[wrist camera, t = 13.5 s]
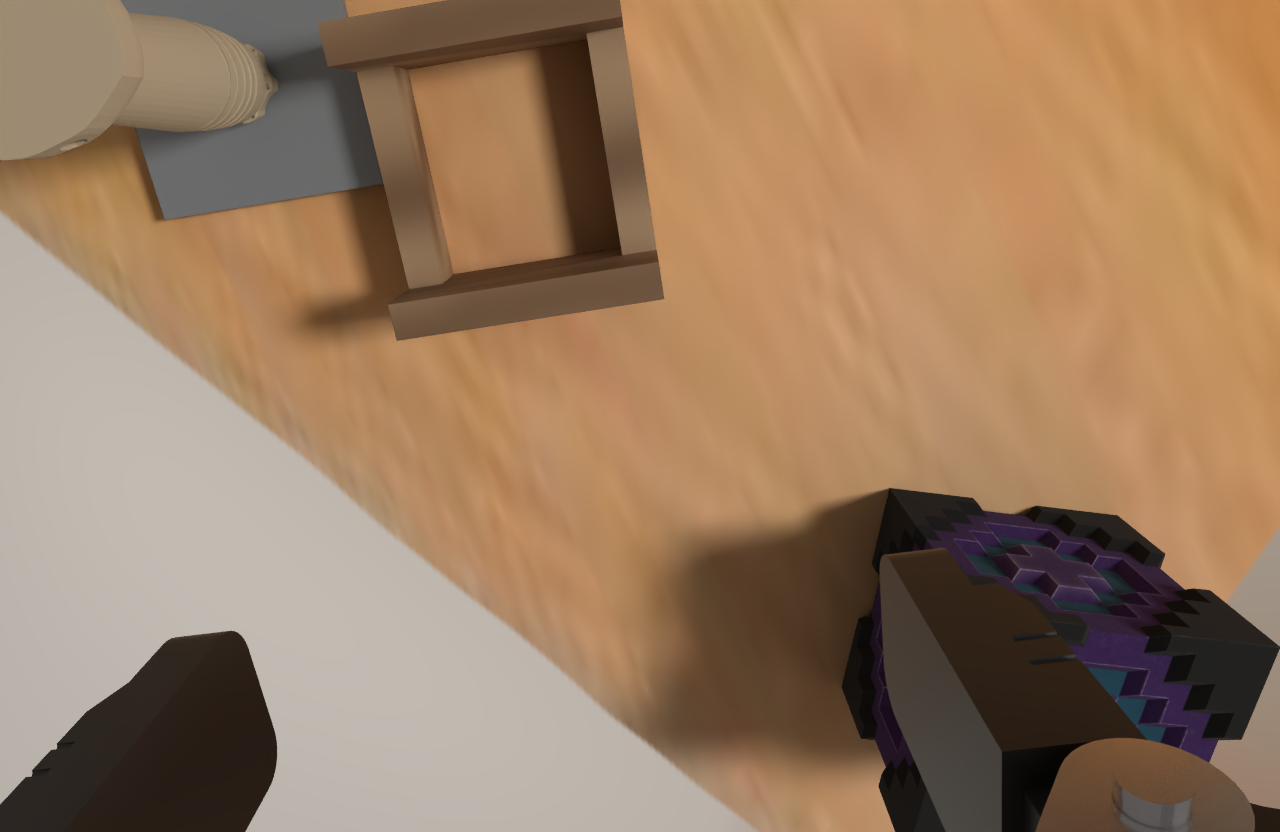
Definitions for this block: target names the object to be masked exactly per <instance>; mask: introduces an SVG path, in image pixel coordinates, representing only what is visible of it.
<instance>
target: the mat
mask: <svg viewBox="0 0 1280 832" xmlns="http://www.w3.org/2000/svg"><path fill="white" fill-rule="evenodd" d="M120 1H121V2H122V4H123V5H124V7H125V8H126V10H127V11H128V13H137V14H147V15H157V16H167V17H174V18H178V19H183V20H187V21H191V22H195V23H199V24H202V25H205V26H208V27H211V28H213V29H216V30H219V31H221V32H223V33H225V34H227V35H229V36H231V37H233V38H235V39H236V40H238V41H239V42H241V43H242V44H249V45H252V46H254V47H255V48H257V49H258V50H259V51H260V52H262V53H263V54H264V56H265V64H266V66H267V68H268V70H269V72H270V73H271V75H272V76H273V77H274V78H276V79H277V81H278V91H277V92H275V93H274V94H273V95H272V96H271V97H270V99H269V100H268V102H267V104H266V107H265V115H264V116H263V117H262V118H260V119H258V120H257V121H254V122H251V123H246V124H243V123H240V124H237V125H234V126H231V127H227V128H221V129H215V130H209V131H194V132H173V131H164V130H155V129H145V128H136V127H135V129H136V132H137V135H138V138H139V141H140V145H141V148H142V151H143V154H144V157H145V160H146V163H147V166H148V169H149V172H150V175H151V179H152V182H153V185H154V188H155V191H156V194H157V197H158V200H159V203H160V206H161V209H162V213H163V216H164V219H165V220H167V219H173V218H179V217H185V216H192V215H198V214H204V213H210V212H216V211H222V210H228V209H234V208H240V207H246V206H252V205H259V204H265V203H271V202H277V201H283V200H289V199H295V198H301V197H307V196H313V195H319V194H326V193H332V192H338V191H344V190H350V189H356V188H362V187H368V186H374V185H380V184H383V180H382V176H381V171H380V167H379V163H378V159H377V155H376V151H375V147H374V143H373V138H372V134H371V130H370V126H369V122H368V118H367V114H366V109H365V105H364V101H363V97H362V93H361V89H360V85H359V81H358V76H357V72H353V71H348V70H343V69H337V68H332V67H328V65H327V61H326V57H325V53H324V49H323V45H322V41H321V37H320V33H319V29H318V25H317V23H319V22H325V21H331V20H337V19H342V18H348V15H347V11H346V6H345V2H344V0H120Z"/></svg>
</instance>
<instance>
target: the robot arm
mask: <svg viewBox="0 0 1280 832" xmlns="http://www.w3.org/2000/svg"><path fill="white" fill-rule="evenodd" d="M880 593H881V614H882V635H883V656H884V670H885V678H886V684H887V689H888V694H889V698H890V702H891V706H892V709H893V712H894V715H895V717H896V720H897V722H898V725H899V727H900V729H901V731H902V734H903V736H904V738H905V740H906V743H907V745H908V747H909V750H910V752H911V754H912V756H913V759H914V761H915V763H916V765H917V768H918V770H919V772H920V775H921V777H922V779H923V781H924V784H925V786H926V788H927V790H928V793H929V795H930V797H931V800H932V802H933V804H934V806H935V809H936V811H937V813H938V815H939V818H940V820H941V822H942V825H943V827H944V829H945V831H946V832H1280V809H1275V808H1268V807H1263V806H1259V805H1255V804H1252V803H1249V801H1248V799H1247V798H1246V796H1245V794H1244V793H1243V792H1242V790H1241V789H1240V788H1239V787H1238V786H1237V785H1236V783H1235V782H1234V781H1232V780H1231V779H1230V778H1229V777H1228V776H1227V775H1226V774H1224V773H1223V772H1222V771H1220V770H1219V769H1217V768H1216V767H1215V766H1213V765H1212V764H1210V763H1208V762H1207V761H1205V760H1203V759H1201V758H1199V757H1197V756H1196V755H1193V754H1191V753H1189V752H1186V751H1184V750H1182V749H1179V748H1176V747H1173V746H1170V745H1167V744H1163V743H1158V742H1154V741H1150V740H1147V739H1146V738H1145V737H1144V735H1143V734H1142V733H1141V732H1140V731H1139V729H1138V728H1137V727H1136V726H1135V725H1134V723H1133V722H1132V721H1131V720H1130V719H1129V717H1128V716H1127V715H1126V714H1125V713H1124V711H1123V710H1122V709H1121V708H1120V707H1119V705H1118V704H1117V703H1116V702H1115V701H1114V699H1113V698H1112V697H1111V696H1110V695H1109V693H1108V692H1107V691H1106V690H1105V689H1104V687H1103V686H1102V685H1101V684H1100V683H1099V681H1098V680H1097V679H1096V678H1095V677H1094V675H1093V674H1092V673H1091V672H1090V671H1089V669H1088V668H1087V667H1086V666H1085V665H1084V663H1083V662H1082V661H1081V660H1077V659H1076V654H1075V652H1074V651H1073V650H1072V649H1071V648H1070V646H1069V645H1068V644H1067V643H1066V642H1065V640H1064V639H1063V638H1062V637H1061V636H1060V637H1058V636H1057V631H1056V630H1055V628H1054V627H1053V626H1052V625H1051V624H1050V622H1049V621H1048V620H1047V619H1046V618H1045V616H1044V615H1043V614H1042V613H1041V612H1040V610H1039V609H1038V608H1037V607H1036V606H1035V604H1033V603H1032V602H1030V601H1028V600H1026V599H1025V598H1023V597H1021V596H1019V595H1018V594H1016V593H1014V592H1012V591H1010V590H1009V589H1007V588H1005V587H1003V586H1002V585H1000V584H998V583H993V584H984V585H976V586H974V585H973V584H972V583H971V581H970V580H969V579H968V577H967V576H966V575H965V573H964V572H963V571H962V569H961V568H960V566H959V565H958V564H957V562H956V561H955V560H954V558H953V557H952V556H951V554H950V553H949V552H948V551H947V550H946V549H945V548H937V549H929V550H921V551H912V552H904V553H895V554H887V555H883V556H882V557H881V561H880ZM276 761H277V741H276V736H275V731H274V728H273V725H272V721H271V718H270V715H269V712H268V709H267V706H266V702H265V699H264V696H263V693H262V690H261V687H260V683H259V680H258V677H257V674H256V671H255V668H254V665H253V662H252V658H251V655H250V652H249V649H248V647H247V644H246V642H245V640H244V639H243V637H242V636H241V635H240V634H239V633H237V632H235V631H226V632H218V633H209V634H201V635H192V636H184V637H175V638H171V639H170V640H168V641H166V643H164V644H163V645H162V646H161V648H160V649H159V650H158V651H157V652H156V653H155V654H154V655H153V656H152V657H151V659H150V660H149V661H148V662H147V663H146V664H145V665H144V666H143V667H142V668H141V670H140V671H139V672H138V673H137V674H136V675H135V676H134V678H133V679H132V680H131V681H130V682H129V683H127V684H126V685H125V686H123V687H122V688H120V689H119V690H117V691H116V692H114V693H113V694H112V695H110V696H109V697H107V698H106V699H104V700H103V701H102V702H100V703H99V704H97V705H96V706H94V707H93V708H91V709H90V710H89V711H87V712H86V713H85V714H84V715H83V716H82V717H81V718H80V720H79V721H78V722H77V723H76V724H75V725H74V726H73V727H72V728H71V729H70V730H69V731H68V732H67V733H66V735H65V736H64V737H63V738H62V739H61V740H60V741H59V742H58V743H57V749H56V750H51V751H50V752H49V753H48V754H47V755H46V756H45V757H44V758H43V759H42V760H41V761H40V763H39V764H38V765H37V766H36V767H35V768H34V769H33V770H32V772H33V774H32V777H26V778H25V779H24V780H23V781H22V782H21V783H20V784H19V785H18V786H17V787H16V788H15V789H14V791H12V793H11V794H10V795H9V796H8V797H7V798H6V799H5V800H4V801H3V802H2V803H1V804H0V832H245V831H246V829H247V827H248V826H249V824H250V822H251V820H252V818H253V816H254V815H255V813H256V811H257V809H258V807H259V806H260V804H261V802H262V800H263V798H264V796H265V795H266V793H267V791H268V789H269V787H270V785H271V783H272V780H273V777H274V773H275V769H276Z"/></svg>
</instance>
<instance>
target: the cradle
mask: <svg viewBox="0 0 1280 832" xmlns="http://www.w3.org/2000/svg"><path fill="white" fill-rule="evenodd" d="M317 25H318V29H319V33H320V37H321V41H322V45H323V49H324V53H325V57H326V61H327V65H328V67H332V68H337V69H343V70H348V71H353V72H357V76H358V81H359V85H360V89H361V93H362V97H363V101H364V105H365V109H366V114H367V118H368V122H369V126H370V130H371V134H372V138H373V143H374V147H375V151H376V155H377V159H378V163H379V167H380V171H381V176H382V180H383V184H384V188H385V192H386V196H387V200H388V204H389V209H390V213H391V217H392V221H393V225H394V229H395V233H396V238H397V242H398V246H399V250H400V254H401V258H402V262H403V266H404V271H405V275H406V279H407V283H408V287H409V290H407V291H406V292H404V293H403V294H402V295H400V296H399V297H398V298H396V299H395V300H394V301H392V302H391V303H390V304H388V308H389V312H390V316H391V320H392V324H393V328H394V332H395V336H396V340H397V341H399V340H405V339H412V338H418V337H424V336H431V335H437V334H444V333H450V332H456V331H463V330H469V329H476V328H482V327H488V326H495V325H501V324H508V323H514V322H520V321H527V320H533V319H540V318H546V317H552V316H559V315H565V314H572V313H578V312H584V311H591V310H597V309H604V308H610V307H616V306H623V305H629V304H635V303H642V302H648V301H655V300H661V299H664V295H663V288H662V281H661V275H660V268H659V261H658V256H657V250H656V244H655V237H654V230H653V224H652V217H651V210H650V204H649V197H648V190H647V184H646V177H645V170H644V163H643V157H642V150H641V143H640V137H639V130H638V123H637V117H636V110H635V103H634V96H633V90H632V83H631V76H630V70H629V63H628V56H627V50H626V43H625V36H624V29H623V21H622V13H621V6H620V0H447V1H441V2H435V3H429V4H424V5H418V6H412V7H406V8H400V9H395V10H389V11H383V12H377V13H371V14H366V15H360V16H354V17H348V18H342V19H337V20H331V21H325V22H319V23H317ZM585 39H587V40H588V46H589V53H590V59H591V65H592V71H593V77H594V84H595V90H596V96H597V102H598V108H599V114H600V121H601V127H602V133H603V139H604V145H605V151H606V158H607V164H608V170H609V176H610V182H611V189H612V195H613V201H614V207H615V213H616V219H617V226H618V232H619V238H620V244H621V248H617V249H611V250H605V251H598V252H592V253H586V254H580V255H573V256H567V257H561V258H554V259H548V260H542V261H536V262H529V263H523V264H517V265H510V266H504V267H498V268H492V269H485V270H479V271H473V272H466V273H460V274H454V275H453V270H452V266H451V261H450V257H449V252H448V248H447V243H446V239H445V234H444V230H443V226H442V221H441V217H440V212H439V208H438V203H437V199H436V194H435V190H434V185H433V181H432V177H431V172H430V168H429V163H428V159H427V154H426V150H425V145H424V141H423V136H422V132H421V128H420V123H419V119H418V114H417V110H416V105H415V101H414V96H413V92H412V87H411V83H410V79H409V74H408V69H414V68H420V67H426V66H432V65H438V64H443V63H449V62H455V61H461V60H467V59H473V58H479V57H485V56H491V55H497V54H502V53H508V52H514V51H520V50H526V49H532V48H538V47H544V46H550V45H555V44H561V43H567V42H573V41H579V40H585Z"/></svg>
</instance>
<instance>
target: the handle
mask: <svg viewBox="0 0 1280 832" xmlns="http://www.w3.org/2000/svg"><path fill="white" fill-rule="evenodd" d="M277 91H278V81H277V79H276V78H274V77H273V76H272V75H271V73H270V72H269V70H268V68H267V66H266V64H265V56H264V54H263V53H262V52H260V51H259V50H258V49H257V48H255V47H254V46H252V45H249V44H242V43H241V42H239V41H238V40H236V39H235V38H233V37H231V36H229V35H227V34H225V33H223V32H221V31H219V30H216V29H213V28H211V27H208V26H205V25H202V24H199V23H195V22H191V21H187V20H183V19H178V18H174V17H167V16H157V15H147V14H137V13H128V11H127V10H126V8H125V7H124V5H123V4H122V2H121V1H120V0H0V160H19V159H38V158H48V157H52V156H55V155H58V154H61V153H63V152H66V151H69V150H71V149H74V148H76V147H79V146H82V145H84V144H87V143H89V142H91V141H92V140H94V139H95V138H97V137H98V136H100V135H101V134H102V133H103V132H104V131H106V130H107V129H108V128H109V127H110V126H111V125H116V126H127V127H136V128H145V129H155V130H164V131H173V132H194V131H209V130H215V129H221V128H227V127H231V126H234V125H237V124H240V123H243V124H246V123H251V122H254V121H257V120H258V119H260V118H262V117H263V116H264V115H265V107H266V104H267V102H268V100H269V99H270V97H271V96H272V95H273V94H274V93H275V92H277Z"/></svg>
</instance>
